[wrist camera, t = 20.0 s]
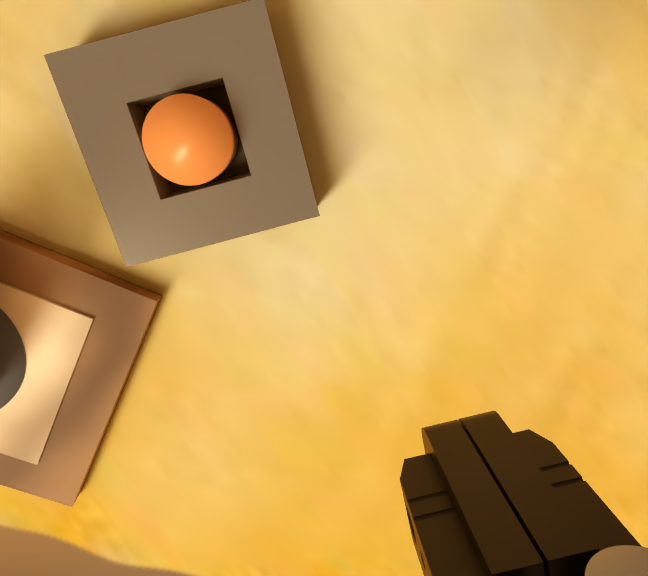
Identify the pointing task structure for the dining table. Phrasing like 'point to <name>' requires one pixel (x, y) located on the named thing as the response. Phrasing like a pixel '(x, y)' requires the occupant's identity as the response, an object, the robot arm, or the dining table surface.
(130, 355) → the picture frame
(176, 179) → the button
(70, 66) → the button box
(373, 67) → the dining table surface
